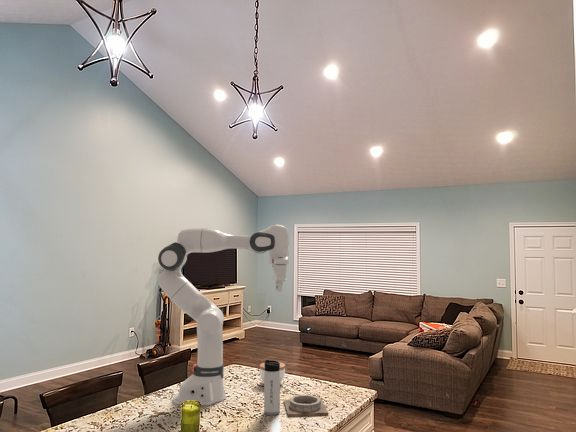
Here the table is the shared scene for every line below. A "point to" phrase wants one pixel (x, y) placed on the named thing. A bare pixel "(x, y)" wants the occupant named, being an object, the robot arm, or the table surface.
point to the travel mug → (272, 387)
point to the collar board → (305, 406)
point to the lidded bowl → (282, 371)
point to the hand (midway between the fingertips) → (278, 290)
